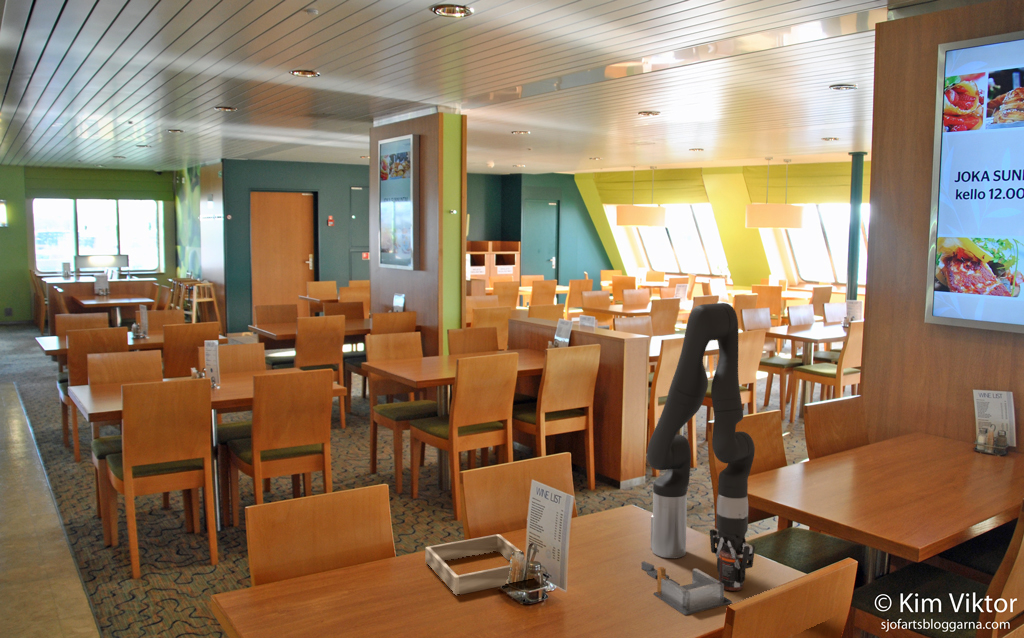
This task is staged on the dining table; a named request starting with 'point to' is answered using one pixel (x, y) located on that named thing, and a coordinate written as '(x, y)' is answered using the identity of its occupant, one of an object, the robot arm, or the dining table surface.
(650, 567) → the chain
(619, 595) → the dining table surface
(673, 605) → the keeper
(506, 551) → the frame
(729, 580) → the supplement bottle
